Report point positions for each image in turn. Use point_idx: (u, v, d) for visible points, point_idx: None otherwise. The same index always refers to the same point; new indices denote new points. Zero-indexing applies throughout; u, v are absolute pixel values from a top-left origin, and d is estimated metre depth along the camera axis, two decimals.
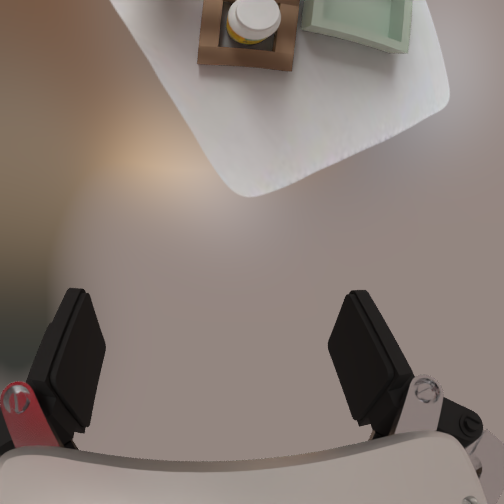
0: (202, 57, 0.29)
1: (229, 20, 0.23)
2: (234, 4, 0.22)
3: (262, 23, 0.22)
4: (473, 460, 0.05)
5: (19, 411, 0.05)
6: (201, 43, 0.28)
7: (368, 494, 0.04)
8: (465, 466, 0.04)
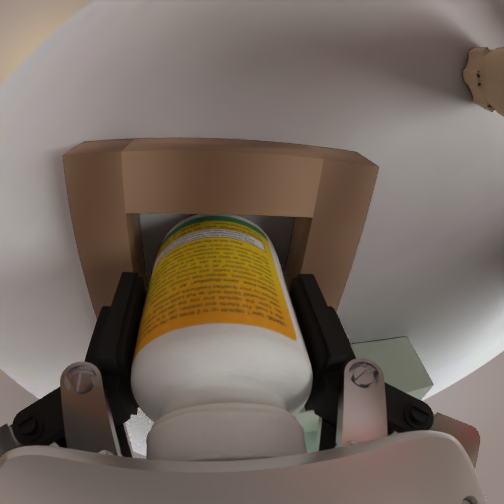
0: (83, 169, 0.09)
1: (191, 345, 0.07)
2: (272, 359, 0.07)
3: None
4: None
5: (79, 391, 0.06)
6: (133, 160, 0.09)
7: (368, 494, 0.04)
8: (465, 466, 0.04)
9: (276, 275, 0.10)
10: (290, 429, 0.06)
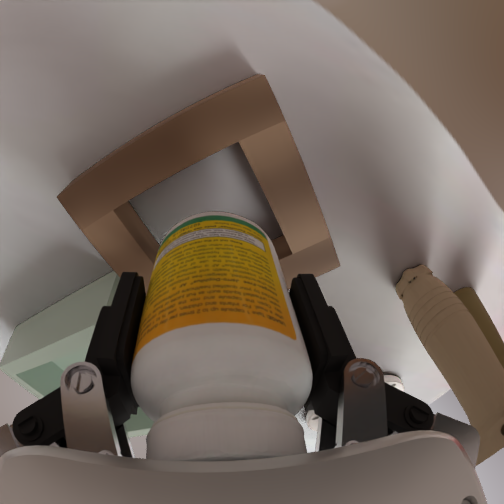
0: (260, 96, 0.11)
1: (191, 344, 0.07)
2: (272, 359, 0.07)
3: None
4: None
5: (79, 391, 0.06)
6: (282, 131, 0.12)
7: (368, 494, 0.04)
8: (465, 466, 0.04)
9: (276, 275, 0.10)
10: (290, 428, 0.06)
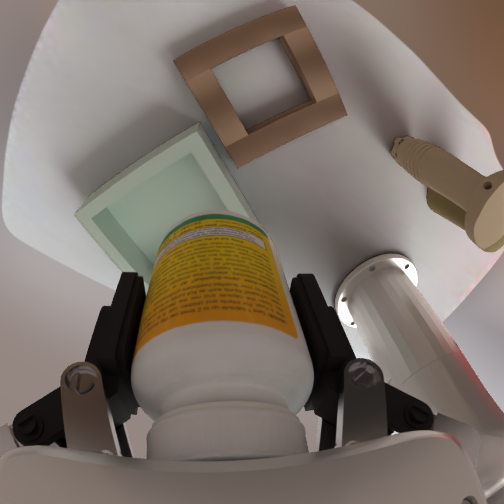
0: (293, 14, 0.19)
1: (191, 343, 0.07)
2: (273, 357, 0.07)
3: None
4: None
5: (79, 390, 0.06)
6: (305, 31, 0.20)
7: (368, 494, 0.04)
8: (465, 466, 0.04)
9: (277, 273, 0.10)
10: (291, 427, 0.06)
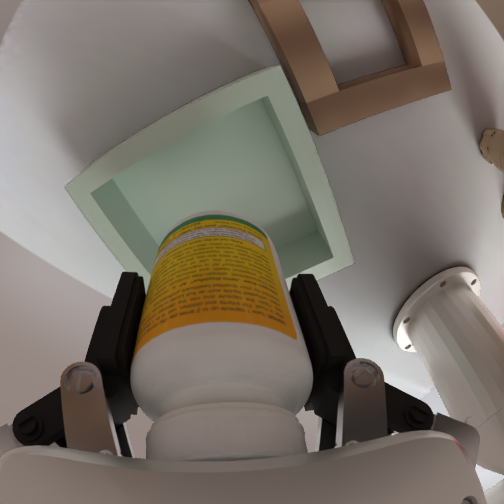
0: None
1: (190, 344, 0.07)
2: (272, 358, 0.07)
3: None
4: None
5: (79, 391, 0.06)
6: None
7: (368, 494, 0.04)
8: (465, 466, 0.04)
9: (276, 274, 0.10)
10: (290, 428, 0.06)
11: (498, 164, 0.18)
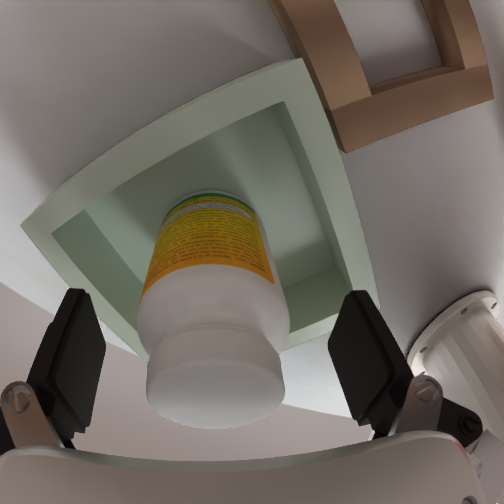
0: None
1: (188, 279, 0.09)
2: (252, 293, 0.09)
3: (173, 409, 0.08)
4: (473, 460, 0.05)
5: (19, 411, 0.05)
6: None
7: (368, 494, 0.04)
8: (465, 466, 0.04)
9: (260, 238, 0.12)
10: (266, 350, 0.08)
11: None
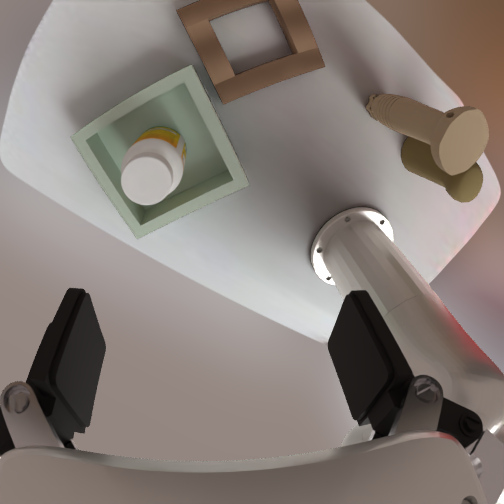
0: None
1: (142, 142, 0.22)
2: (164, 146, 0.22)
3: (129, 187, 0.21)
4: (473, 460, 0.05)
5: (19, 411, 0.05)
6: None
7: (368, 494, 0.04)
8: (465, 466, 0.04)
9: (177, 139, 0.26)
10: (165, 160, 0.22)
11: (377, 118, 0.29)
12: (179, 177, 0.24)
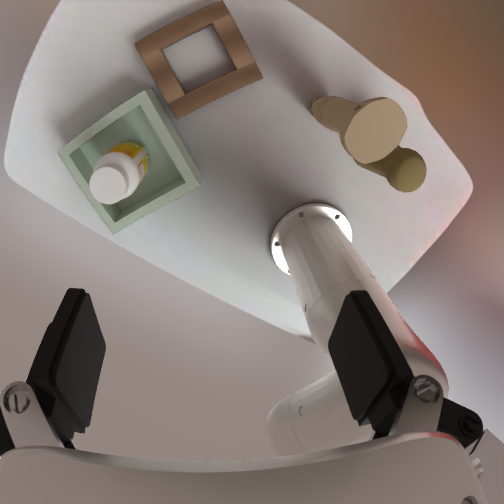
0: (220, 6, 0.25)
1: (106, 155, 0.27)
2: (122, 158, 0.28)
3: (96, 191, 0.27)
4: (473, 460, 0.05)
5: (19, 411, 0.05)
6: (229, 18, 0.26)
7: (368, 494, 0.04)
8: (465, 466, 0.04)
9: (138, 151, 0.31)
10: (121, 169, 0.27)
11: (316, 119, 0.33)
12: (136, 181, 0.29)
